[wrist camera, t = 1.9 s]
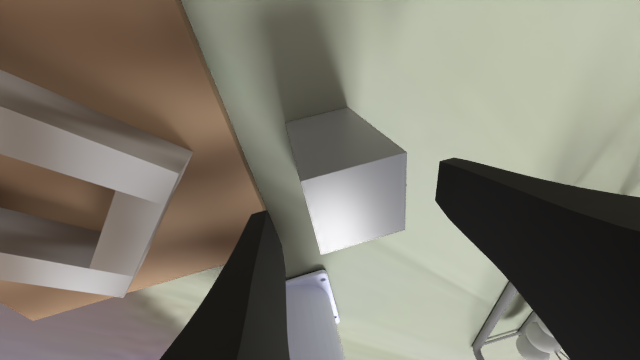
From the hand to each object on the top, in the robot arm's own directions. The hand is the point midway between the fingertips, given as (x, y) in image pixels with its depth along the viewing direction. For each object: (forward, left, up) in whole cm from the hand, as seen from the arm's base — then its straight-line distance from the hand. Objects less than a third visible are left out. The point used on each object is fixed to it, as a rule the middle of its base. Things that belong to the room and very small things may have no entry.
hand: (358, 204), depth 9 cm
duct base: (+2, +14, -7) cm, 16 cm away
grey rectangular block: (0, 0, -7) cm, 7 cm away
